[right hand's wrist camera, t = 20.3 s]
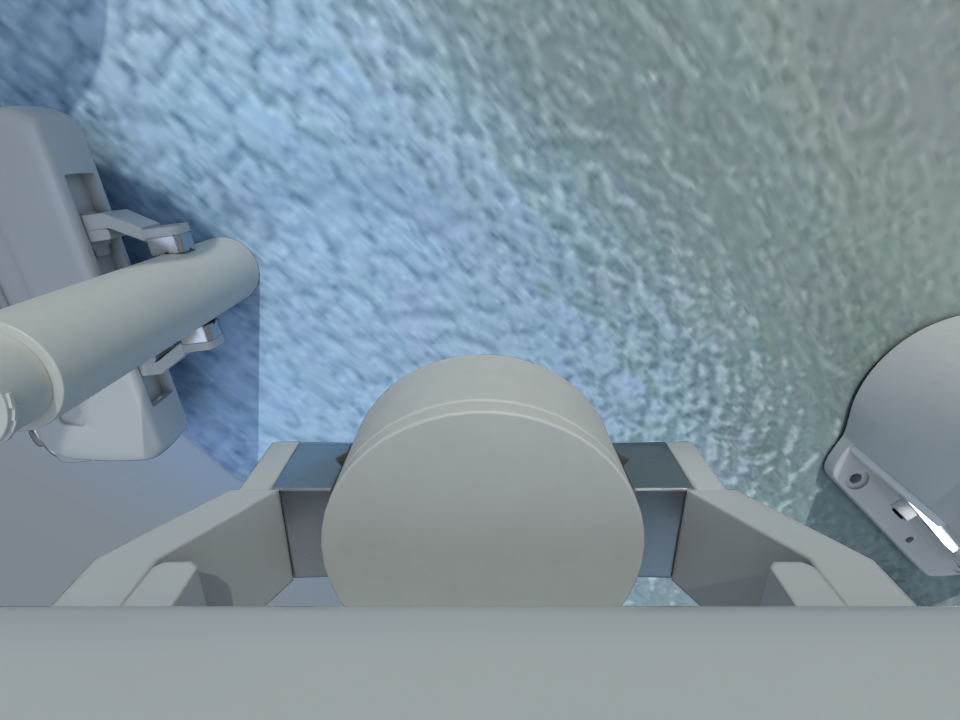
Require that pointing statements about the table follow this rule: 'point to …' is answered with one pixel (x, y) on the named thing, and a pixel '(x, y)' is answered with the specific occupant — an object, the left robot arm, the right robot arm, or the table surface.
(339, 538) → the lid
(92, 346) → the tall grey cylinder
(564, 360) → the table surface
